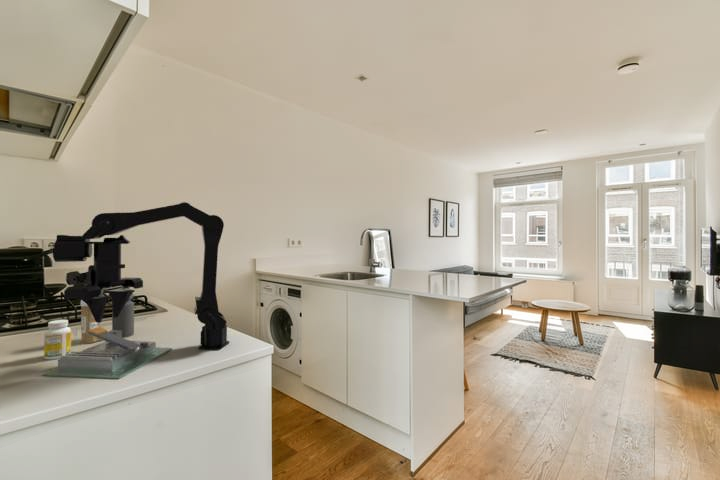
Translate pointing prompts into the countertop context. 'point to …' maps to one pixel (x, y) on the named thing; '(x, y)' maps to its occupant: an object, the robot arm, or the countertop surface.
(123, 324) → the bottle
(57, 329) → the supplement bottle
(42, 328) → the countertop surface
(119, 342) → the grey and orange bar
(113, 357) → the heatsink
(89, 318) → the sprinkles bottle
